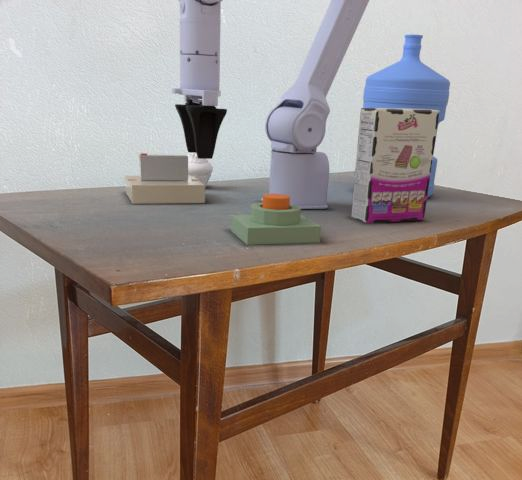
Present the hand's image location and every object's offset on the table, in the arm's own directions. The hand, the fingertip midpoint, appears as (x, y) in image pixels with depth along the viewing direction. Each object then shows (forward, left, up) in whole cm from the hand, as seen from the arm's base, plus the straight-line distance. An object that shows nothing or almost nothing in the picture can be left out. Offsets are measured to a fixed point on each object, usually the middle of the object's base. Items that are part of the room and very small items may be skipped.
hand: (199, 155), depth 90 cm
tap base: (+4, -11, -8) cm, 14 cm away
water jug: (-42, -14, -8) cm, 45 cm away
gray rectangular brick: (+4, -11, -5) cm, 13 cm away
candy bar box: (-28, +9, -8) cm, 31 cm away
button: (-6, +18, -5) cm, 20 cm away
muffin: (-4, -22, -8) cm, 24 cm away
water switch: (-6, +18, -8) cm, 21 cm away
